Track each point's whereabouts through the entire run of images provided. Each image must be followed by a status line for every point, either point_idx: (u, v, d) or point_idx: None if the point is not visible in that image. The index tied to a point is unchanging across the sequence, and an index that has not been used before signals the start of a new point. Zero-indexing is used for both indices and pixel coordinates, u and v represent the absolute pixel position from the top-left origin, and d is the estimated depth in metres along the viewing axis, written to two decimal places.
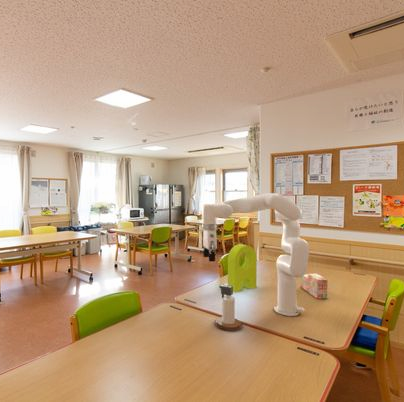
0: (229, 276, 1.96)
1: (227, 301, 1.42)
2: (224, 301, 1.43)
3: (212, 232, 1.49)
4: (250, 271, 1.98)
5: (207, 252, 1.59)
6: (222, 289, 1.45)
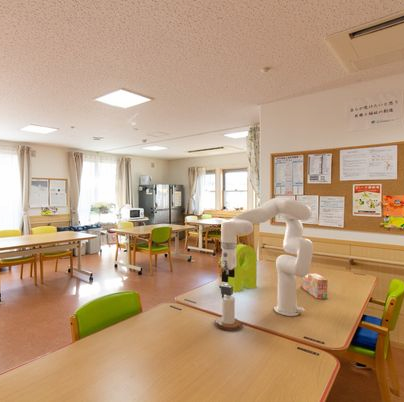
0: None
1: (227, 301, 1.42)
2: (224, 301, 1.43)
3: (226, 251, 1.40)
4: (250, 271, 1.98)
5: (231, 272, 1.48)
6: (222, 289, 1.45)
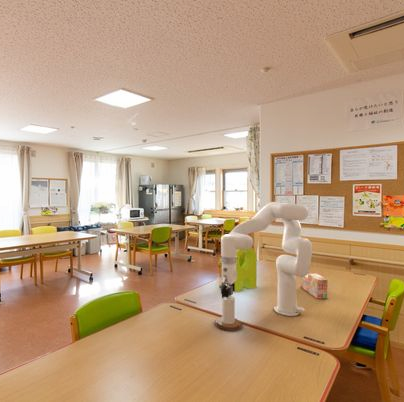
0: None
1: (227, 301, 1.42)
2: (224, 301, 1.43)
3: (226, 266, 1.40)
4: (250, 271, 1.98)
5: None
6: None
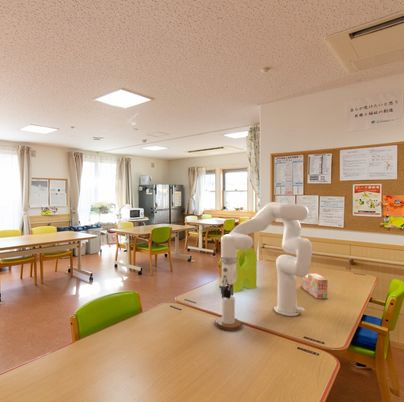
0: None
1: (227, 301, 1.42)
2: (224, 301, 1.43)
3: (226, 266, 1.40)
4: (250, 271, 1.98)
5: None
6: (222, 289, 1.45)
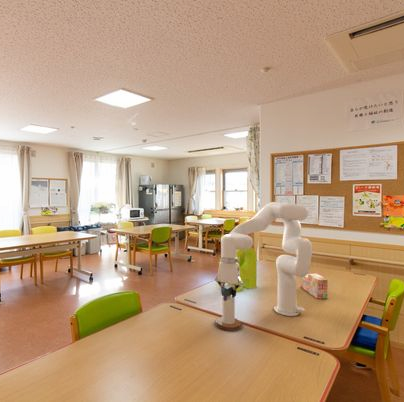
0: None
1: (234, 300, 1.43)
2: (231, 302, 1.42)
3: (238, 265, 1.42)
4: (250, 271, 1.98)
5: None
6: (228, 291, 1.42)
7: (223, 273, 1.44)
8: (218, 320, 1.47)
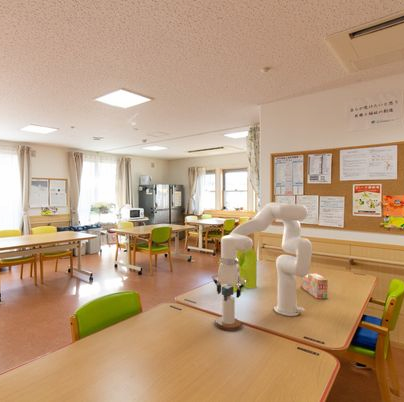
0: None
1: (234, 300, 1.43)
2: (232, 302, 1.42)
3: (238, 266, 1.42)
4: (250, 271, 1.98)
5: (220, 288, 1.48)
6: (229, 291, 1.42)
7: (223, 274, 1.44)
8: (218, 320, 1.46)
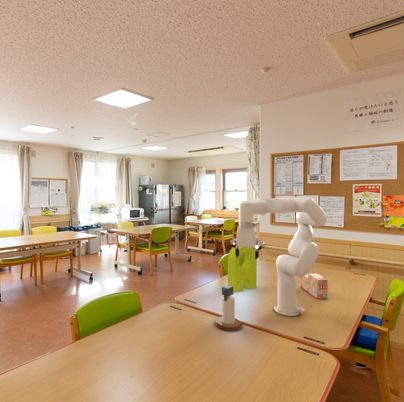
0: (229, 276, 1.96)
1: (234, 300, 1.43)
2: (232, 302, 1.42)
3: (255, 229, 1.47)
4: (250, 271, 1.98)
5: (238, 251, 1.53)
6: (229, 291, 1.42)
7: (241, 237, 1.49)
8: (218, 320, 1.46)
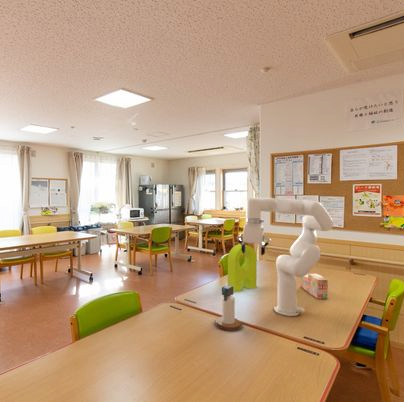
0: (229, 276, 1.96)
1: (234, 300, 1.43)
2: (232, 302, 1.42)
3: (262, 226, 1.50)
4: (250, 271, 1.98)
5: (244, 247, 1.55)
6: (229, 291, 1.42)
7: (248, 233, 1.51)
8: (218, 320, 1.46)
